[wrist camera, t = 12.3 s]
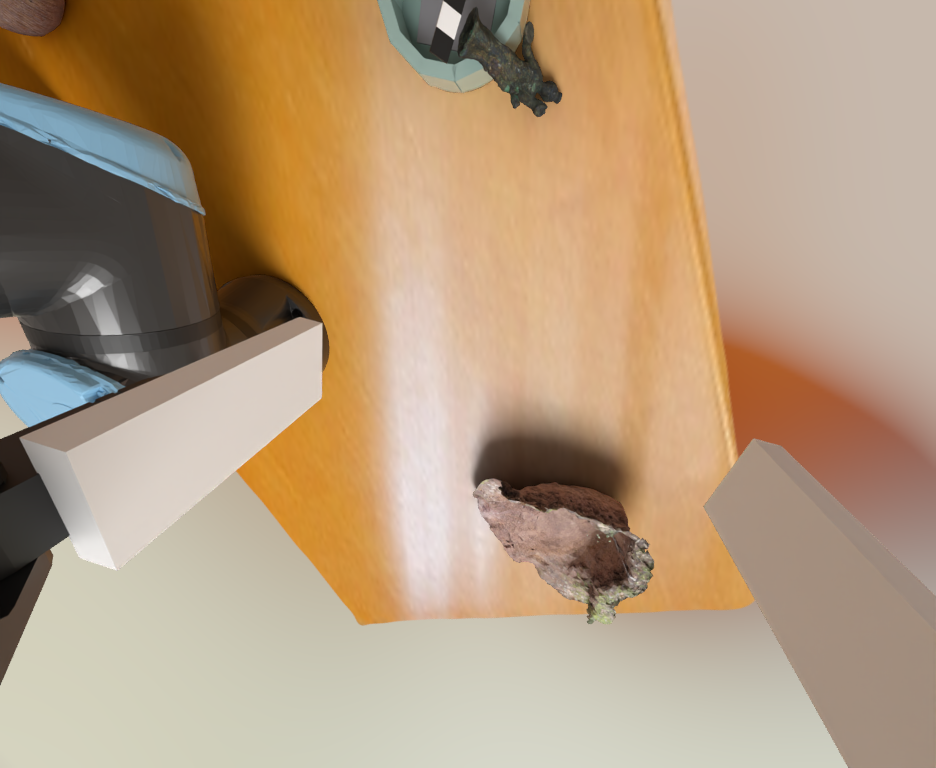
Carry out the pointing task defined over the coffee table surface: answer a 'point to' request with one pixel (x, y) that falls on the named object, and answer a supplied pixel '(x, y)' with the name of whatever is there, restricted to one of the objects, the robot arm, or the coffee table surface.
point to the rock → (570, 541)
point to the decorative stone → (31, 16)
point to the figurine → (494, 56)
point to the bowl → (412, 29)
